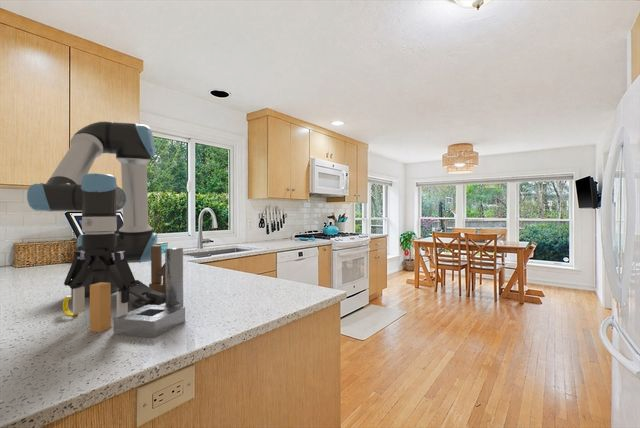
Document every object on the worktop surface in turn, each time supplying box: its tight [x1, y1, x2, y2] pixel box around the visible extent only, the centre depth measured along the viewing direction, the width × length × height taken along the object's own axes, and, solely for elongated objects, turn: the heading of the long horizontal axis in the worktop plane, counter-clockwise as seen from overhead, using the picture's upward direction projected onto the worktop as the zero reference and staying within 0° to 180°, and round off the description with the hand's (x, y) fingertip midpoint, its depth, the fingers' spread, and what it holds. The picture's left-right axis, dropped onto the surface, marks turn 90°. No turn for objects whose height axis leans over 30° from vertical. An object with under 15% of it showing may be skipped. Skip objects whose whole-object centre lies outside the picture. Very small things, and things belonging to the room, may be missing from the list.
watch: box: [62, 294, 79, 317], centre depth 96 cm, size 6×3×6 cm, turn 70°
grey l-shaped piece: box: [112, 247, 186, 339], centre depth 88 cm, size 18×12×20 cm
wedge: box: [89, 282, 112, 333], centre depth 84 cm, size 3×3×12 cm
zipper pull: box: [115, 279, 166, 310], centre depth 105 cm, size 9×7×25 cm
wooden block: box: [148, 244, 165, 294], centre depth 120 cm, size 4×11×18 cm, turn 67°
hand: (100, 314), depth 84 cm, fingers open, 13 cm apart
